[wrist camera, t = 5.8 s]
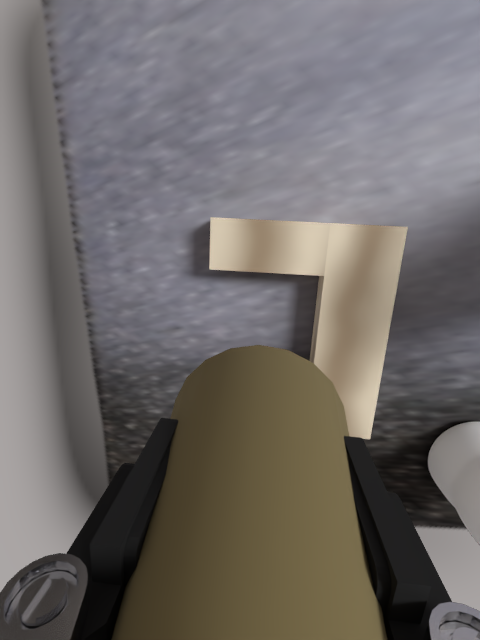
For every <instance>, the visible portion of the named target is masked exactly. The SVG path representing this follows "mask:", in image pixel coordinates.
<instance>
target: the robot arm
mask: <svg viewBox="0 0 480 640" xmlns="http://www.w3.org/2000/svg"><path fill="white" fill-rule="evenodd" d="M177 424H178V420H177V419H168V418H161V419H160V421H159V422H158V424H157V426H156V428H155V429H154V431H153V433H152V435H151V437H150V438H149V440H148V442H147V444H146V445H145V447H144V449H143V451H142V453H141V454H140V456H139V458H138V460H137V461H136V463H135V464H130V463H124V464H123V465H122V466H121V467H120V468H119V470H118V471H117V473H116V475H115V476H114V478H113V479H112V481H111V483H110V484H109V486H108V487H107V489H106V491H105V492H104V494H103V496H102V497H101V499H100V501H99V502H98V504H97V505H96V507H95V509H94V510H93V512H92V513H91V515H90V517H89V518H88V520H87V521H86V523H85V525H84V526H83V528H82V530H81V531H80V533H79V534H78V536H77V538H76V539H75V541H74V543H73V544H72V546H71V547H70V549H69V551H68V552H67V554H63V553H62V554H61V553H58V554H53V555H48V556H45V557H43V558H40V559H38V560H36V561H33V562H32V563H30V564H29V565H27V566H26V567H24V568H23V569H21V570H20V571H19V572H18V573H17V574H16V575H15V576H14V577H13V578H11V580H9V581H8V582H7V584H6V585H5V587H4V588H3V590H2V591H1V592H0V640H111V639H112V635H113V631H114V627H115V624H116V620H117V616H118V613H119V609H120V605H121V601H122V598H123V594H124V590H125V587H126V585H127V583H128V581H129V579H130V578H131V576H132V574H133V572H134V571H135V569H136V566H137V563H138V560H139V556H140V553H141V550H142V546H143V543H144V540H145V537H146V533H147V530H148V527H149V523H150V520H151V517H152V514H153V511H154V508H155V505H156V502H157V499H158V496H159V493H160V490H161V487H162V484H163V481H164V478H165V475H166V470H167V464H168V459H169V453H170V447H171V442H172V438H173V435H174V432H175V430H176V427H177ZM344 441H345V446H346V450H347V454H348V460H349V467H350V475H351V482H352V489H353V496H354V501H355V506H356V510H357V515H358V519H359V524H360V528H361V533H362V537H363V542H364V546H365V551H366V555H367V560H368V564H369V569H370V573H371V578H372V582H373V587H374V591H375V596H376V598H377V600H378V602H379V604H380V606H381V609H382V614H383V620H384V625H385V630H386V636H387V640H480V611H478V610H476V609H474V608H471V607H469V606H467V605H464V604H460V603H455V602H452V601H451V599H450V597H449V595H448V593H447V591H446V589H445V587H444V585H443V583H442V581H441V579H440V577H439V575H438V573H437V571H436V569H435V567H434V565H433V563H432V561H431V559H430V557H429V555H428V553H427V551H426V549H425V547H424V545H423V543H422V541H421V539H420V537H419V535H418V533H417V531H416V529H415V527H414V525H413V523H412V521H411V519H410V517H409V515H408V513H407V511H406V509H405V507H404V505H403V503H402V501H401V499H400V498H399V496H398V495H397V494H396V493H395V492H390V491H387V490H386V488H385V486H384V484H383V481H382V479H381V477H380V475H379V473H378V471H377V469H376V466H375V464H374V462H373V460H372V458H371V456H370V454H369V451H368V449H367V447H366V445H365V443H364V441H363V439H362V438H360V437H350V436H344Z"/></svg>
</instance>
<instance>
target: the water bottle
mask: <svg viewBox="0 0 480 640" xmlns="http://www.w3.org/2000/svg"><path fill="white" fill-rule="evenodd" d="M428 468H429V472H430V474H431V476H432V478H433V480H434V482H435V483H436V485H437V486H438V487H439V489H440V490H441V492H442V493H443V494H444V496H445V497H446V498H447V499H448V501H449V502H450V503H451V504H452V505H453V506H454V507H455V508H456V510H457V512H458V514H459V516H460V518H461V520H462V522H463V523H464V525H465V526H466V528H467V529H468V531H469V532H470V534H471V535H472V536H473V538H474V539H475V540H476V541H477V543H478V544H479V545H480V422H466V423H462V424H459V425H456V426H453V427H451V428H449V429H448V430H446V431H445V432H443V433H442V434H441V435H440V436H439V437H438V438H437V439H436V440H435V442H434V443H433V445H432V446H431V449H430V451H429V455H428Z"/></svg>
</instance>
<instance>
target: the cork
mask: <svg viewBox="0 0 480 640" xmlns="http://www.w3.org/2000/svg"><path fill="white" fill-rule="evenodd" d="M171 419H177V420H178V424H177V427H176V430H175V432H174V435H173V438H172V442H171V447H170V453H169V459H168V464H167V470H166V475H165V478H164V481H163V484H162V487H161V490H160V493H159V496H158V499H157V502H156V505H155V508H154V511H153V514H152V517H151V520H150V523H149V527H148V530H147V533H146V537H145V540H144V543H143V546H142V550H141V553H140V556H139V560H138V563H137V566H136V569H135V571H134V572H133V574H132V576H131V578H130V579H129V581H128V583H127V585H126V587H125V590H124V594H123V598H122V601H121V605H120V609H119V613H118V616H117V620H116V624H115V627H114V631H113V635H112V639H111V640H387V636H386V630H385V625H384V620H383V614H382V609H381V606H380V604H379V602H378V600H377V598H376V596H375V591H374V587H373V582H372V578H371V573H370V569H369V564H368V560H367V555H366V551H365V546H364V542H363V537H362V533H361V528H360V524H359V519H358V515H357V510H356V506H355V501H354V496H353V489H352V482H351V475H350V467H349V460H348V454H347V450H346V446H345V441H344V436H349V431H348V426H347V420H346V415H345V410H344V405H343V403H342V401H341V399H340V397H339V395H338V393H337V391H336V388H335V386H334V384H333V382H332V381H331V380H330V379H329V378H328V377H327V376H326V375H325V374H324V373H323V372H322V371H321V370H320V369H319V368H318V367H317V366H316V365H315V364H314V363H312V362H310V361H308V360H306V359H304V358H302V357H300V356H299V355H297V354H295V353H293V352H291V351H289V350H285V349H279V348H274V347H268V346H262V345H255V346H247V347H239V348H231V349H228V350H226V351H224V352H222V353H220V354H218V355H215V356H213V357H211V358H209V359H207V360H205V361H204V362H203V363H202V364H201V365H200V366H199V367H198V368H197V369H196V370H194V371H193V372H192V373H191V374H190V375H189V376H188V377H187V378H186V380H185V382H184V384H183V386H182V388H181V390H180V392H179V394H178V396H177V398H176V400H175V404H174V408H173V412H172V415H171Z"/></svg>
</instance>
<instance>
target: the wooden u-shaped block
mask: <svg viewBox="0 0 480 640" xmlns="http://www.w3.org/2000/svg"><path fill="white" fill-rule="evenodd" d="M407 229H408V227H398V226H377V225H356V224H336V223H315V222H294V221H274V220H253V219H232V218H212V217H211V223H210V265H209V269H211V270H228V271H245V272H263V273H280V274H297V275H315V276H319V281H318V290H317V299H316V308H315V317H314V326H313V335H312V343H311V352H310V362H312V363H314V364H315V365H316V366H317V367H318V368H319V369H320V370H321V371H322V372H323V373H324V374H325V375H326V376H327V377H328V378H329V379H330V380H331V381H332V382H333V384H334V386H335V388H336V391H337V393H338V395H339V397H340V399H341V401H342V403H343V405H344V410H345V415H346V420H347V426H348V431H349V436H350V437H360V438H362V439H370V437H371V431H372V426H373V420H374V414H375V409H376V403H377V397H378V392H379V386H380V381H381V375H382V369H383V364H384V358H385V352H386V347H387V341H388V336H389V330H390V324H391V319H392V313H393V307H394V302H395V296H396V291H397V285H398V279H399V274H400V268H401V263H402V257H403V251H404V246H405V240H406V234H407Z"/></svg>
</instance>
